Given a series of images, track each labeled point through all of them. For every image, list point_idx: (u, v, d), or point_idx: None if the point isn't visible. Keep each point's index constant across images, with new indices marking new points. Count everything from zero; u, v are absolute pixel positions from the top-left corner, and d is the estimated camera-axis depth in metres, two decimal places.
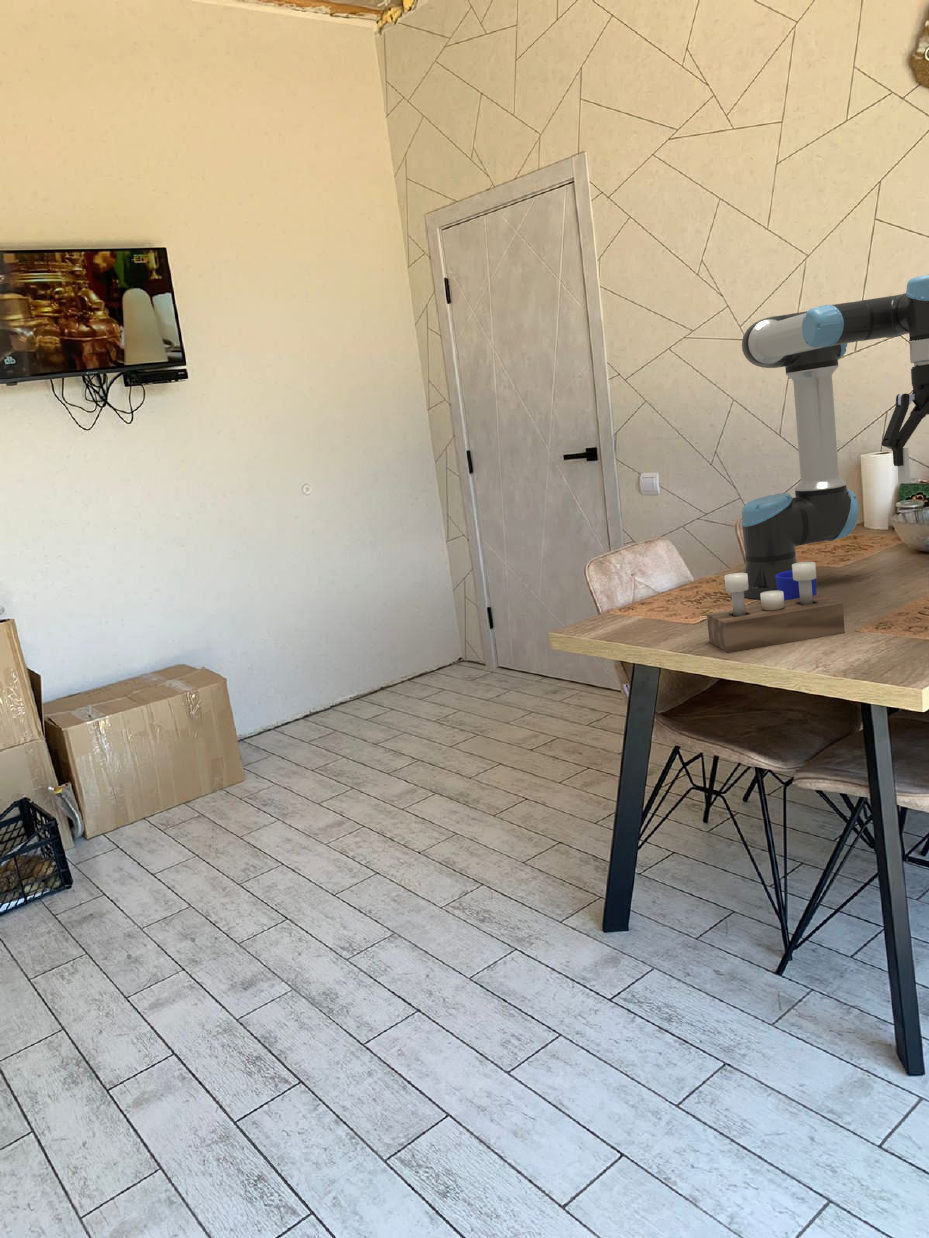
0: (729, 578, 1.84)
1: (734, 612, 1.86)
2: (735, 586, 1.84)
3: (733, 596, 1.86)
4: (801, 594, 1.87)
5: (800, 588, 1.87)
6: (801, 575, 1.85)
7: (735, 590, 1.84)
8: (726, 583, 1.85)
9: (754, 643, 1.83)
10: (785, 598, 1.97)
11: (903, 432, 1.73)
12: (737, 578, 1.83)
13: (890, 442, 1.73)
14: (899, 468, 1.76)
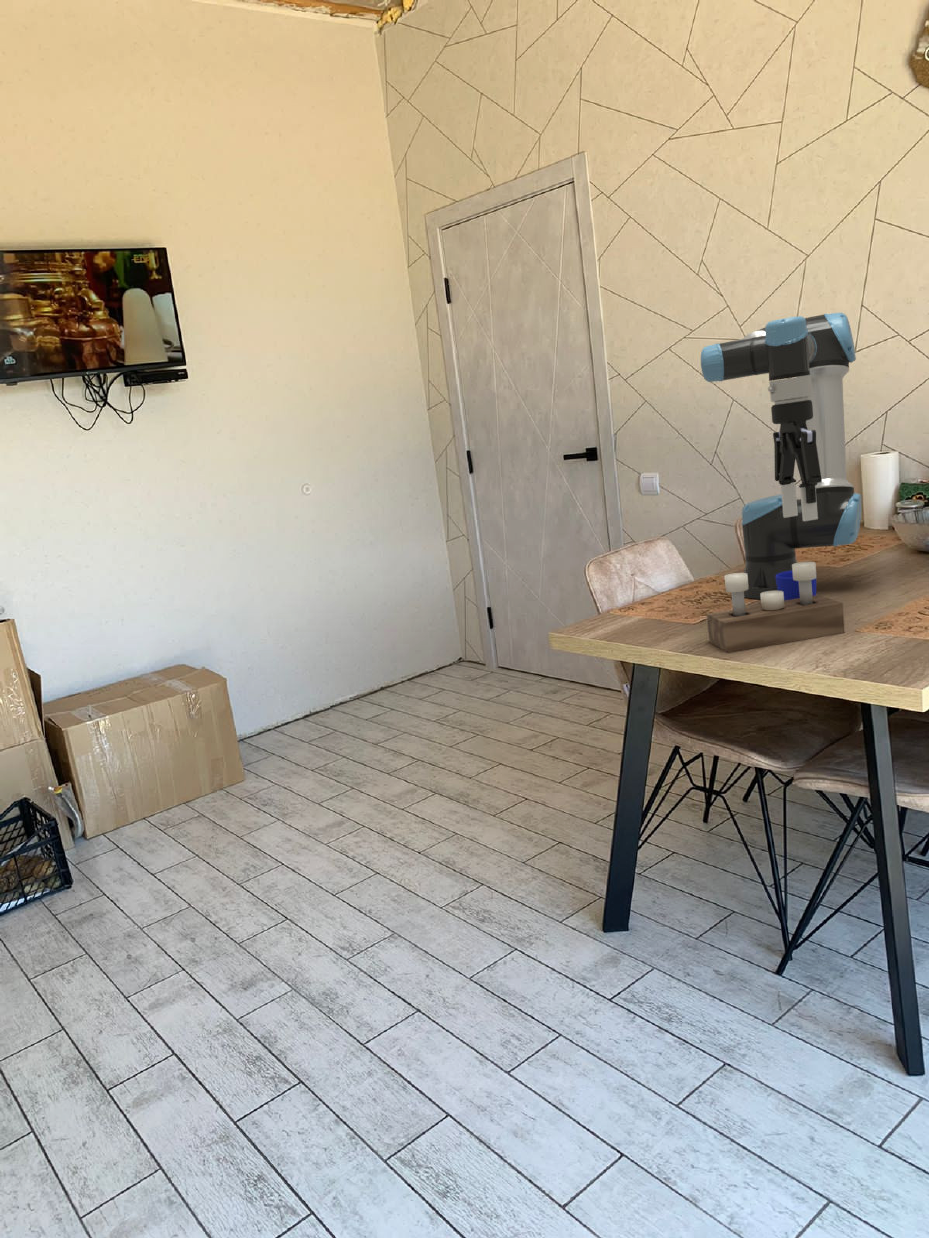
0: (729, 578, 1.84)
1: (734, 612, 1.86)
2: (735, 586, 1.84)
3: (733, 596, 1.86)
4: (801, 594, 1.87)
5: (800, 588, 1.87)
6: (801, 575, 1.85)
7: (735, 590, 1.84)
8: (726, 583, 1.85)
9: (754, 643, 1.83)
10: (785, 598, 1.97)
11: None
12: (737, 578, 1.83)
13: (775, 477, 1.90)
14: None
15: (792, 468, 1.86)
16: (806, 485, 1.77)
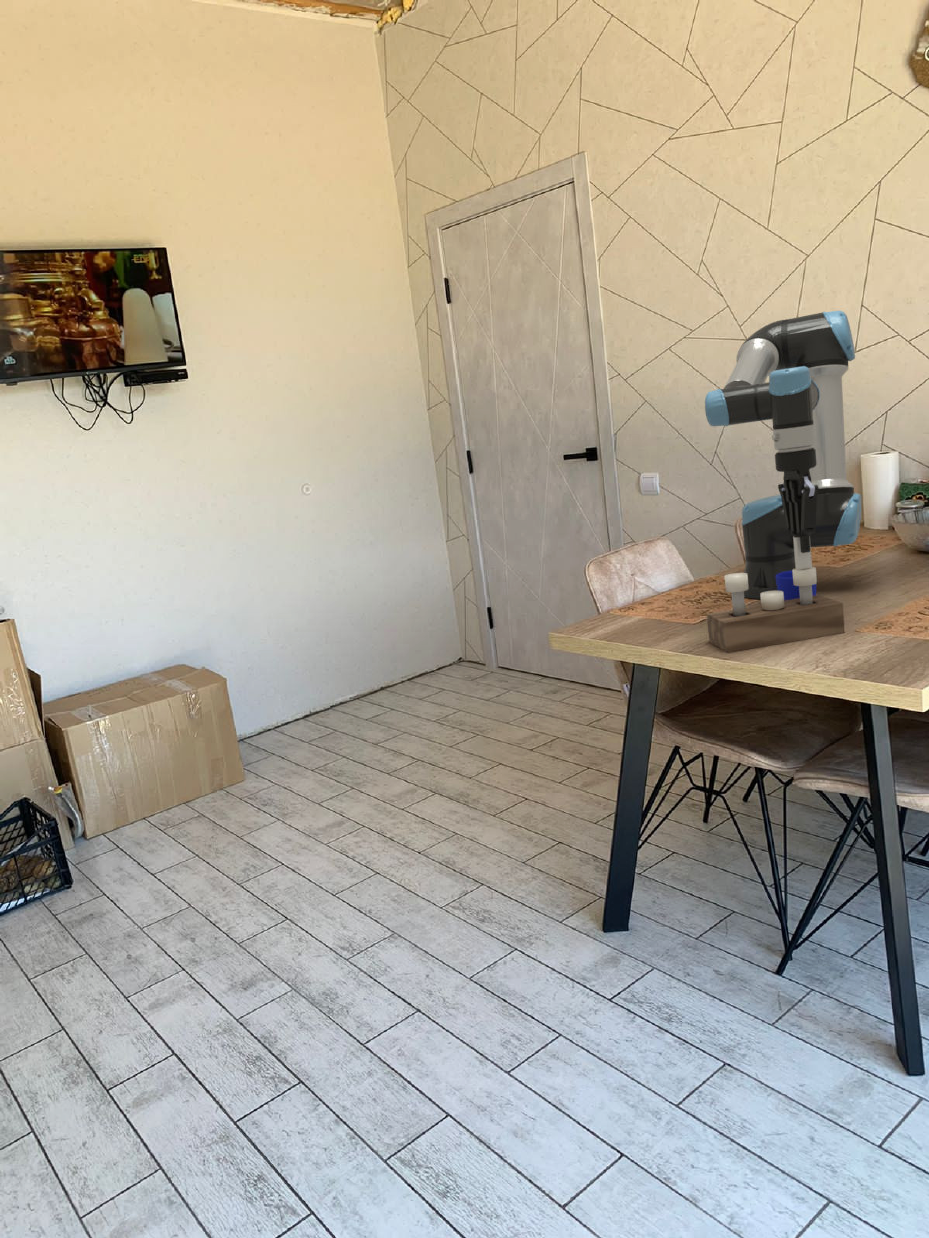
0: (729, 578, 1.84)
1: (734, 612, 1.86)
2: (735, 586, 1.84)
3: (733, 596, 1.86)
4: (801, 599, 1.87)
5: (800, 593, 1.87)
6: (802, 580, 1.85)
7: (735, 590, 1.84)
8: (726, 583, 1.85)
9: (754, 643, 1.83)
10: (785, 598, 1.97)
11: None
12: (737, 578, 1.83)
13: (787, 528, 1.88)
14: None
15: None
16: (800, 536, 1.83)
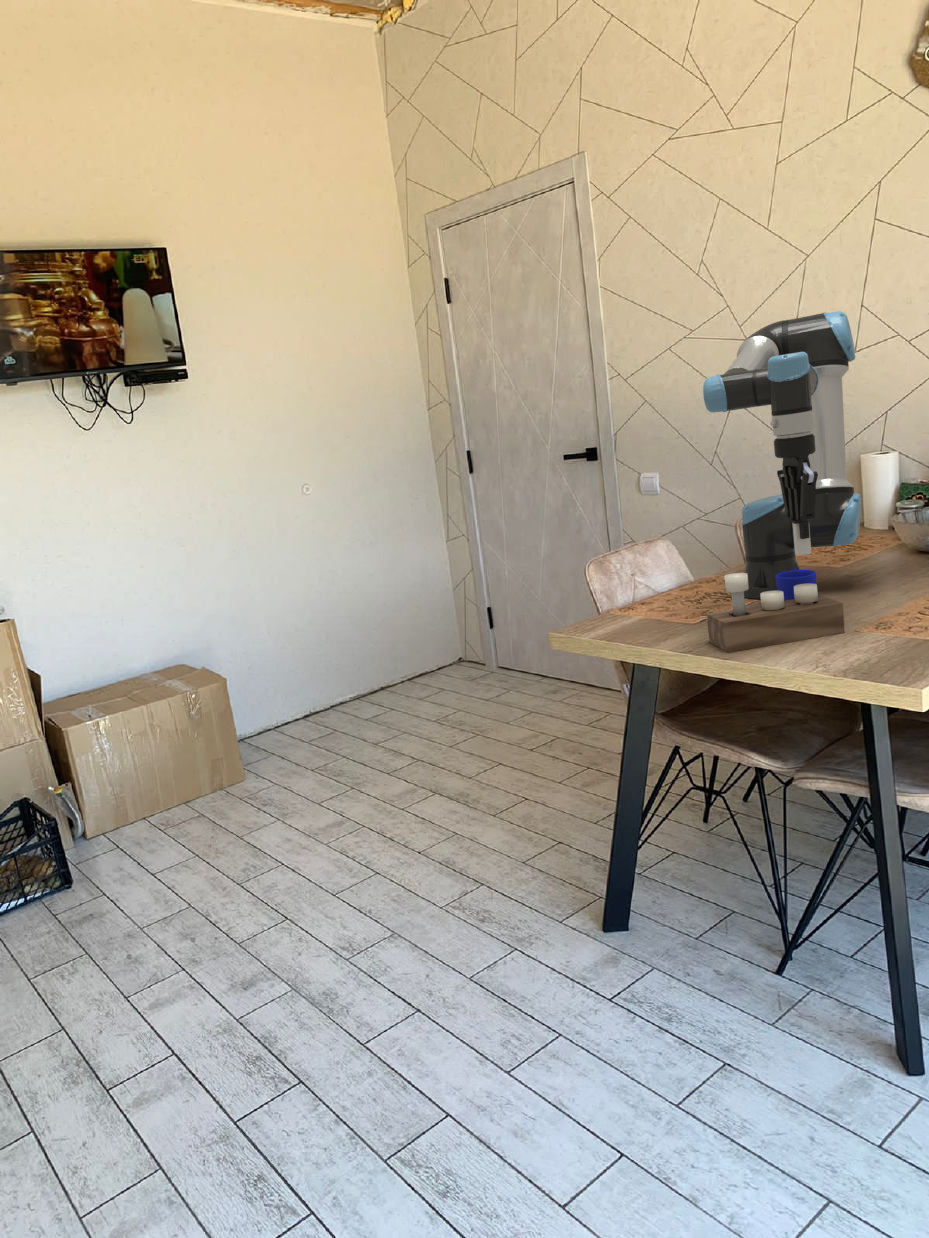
0: (729, 578, 1.84)
1: (734, 612, 1.86)
2: (735, 586, 1.84)
3: (733, 596, 1.86)
4: None
5: None
6: (803, 597, 1.86)
7: (735, 590, 1.84)
8: (726, 583, 1.85)
9: (754, 643, 1.83)
10: (785, 598, 1.97)
11: None
12: (737, 578, 1.83)
13: None
14: None
15: None
16: (799, 522, 1.83)
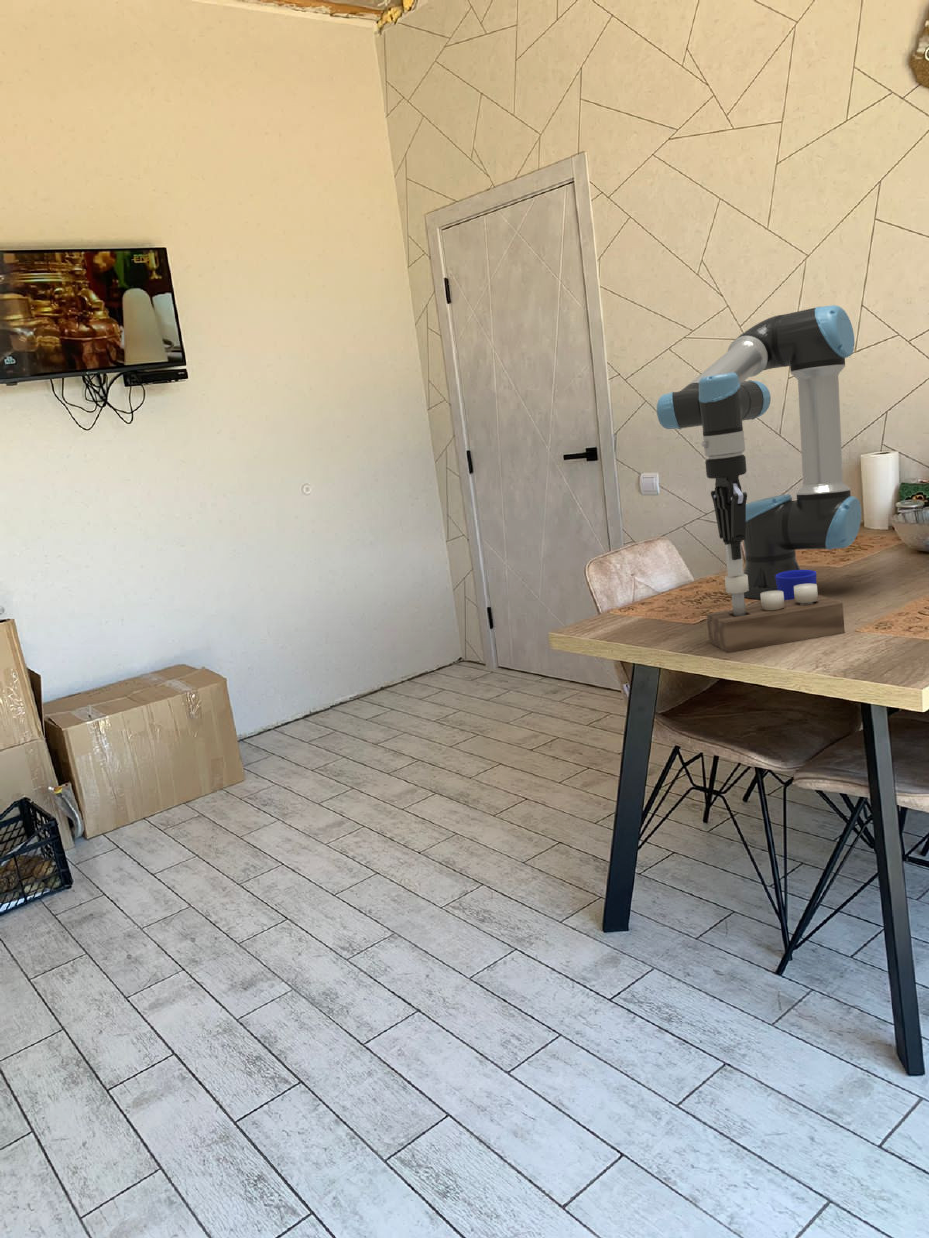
0: (729, 579, 1.84)
1: (734, 613, 1.87)
2: (735, 588, 1.84)
3: (733, 597, 1.86)
4: None
5: None
6: (803, 597, 1.86)
7: (735, 591, 1.84)
8: (726, 584, 1.85)
9: (754, 643, 1.83)
10: (785, 598, 1.97)
11: None
12: (737, 579, 1.83)
13: (719, 535, 1.87)
14: None
15: None
16: (731, 543, 1.82)
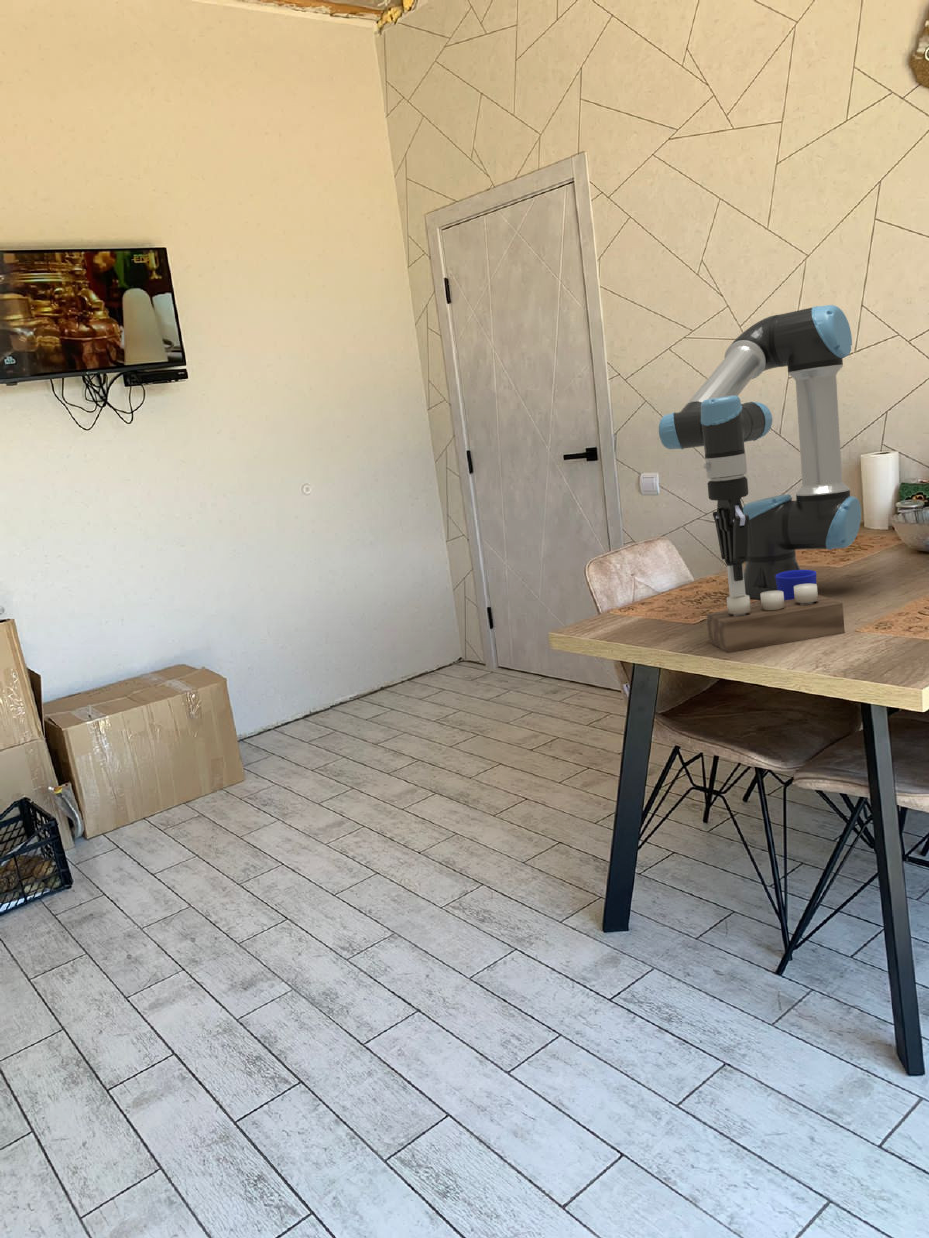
0: (731, 600, 1.85)
1: None
2: (737, 608, 1.85)
3: None
4: None
5: None
6: (803, 597, 1.86)
7: (737, 612, 1.85)
8: (728, 605, 1.86)
9: (754, 643, 1.83)
10: (785, 598, 1.97)
11: None
12: (739, 600, 1.84)
13: (721, 556, 1.88)
14: None
15: None
16: (733, 564, 1.83)
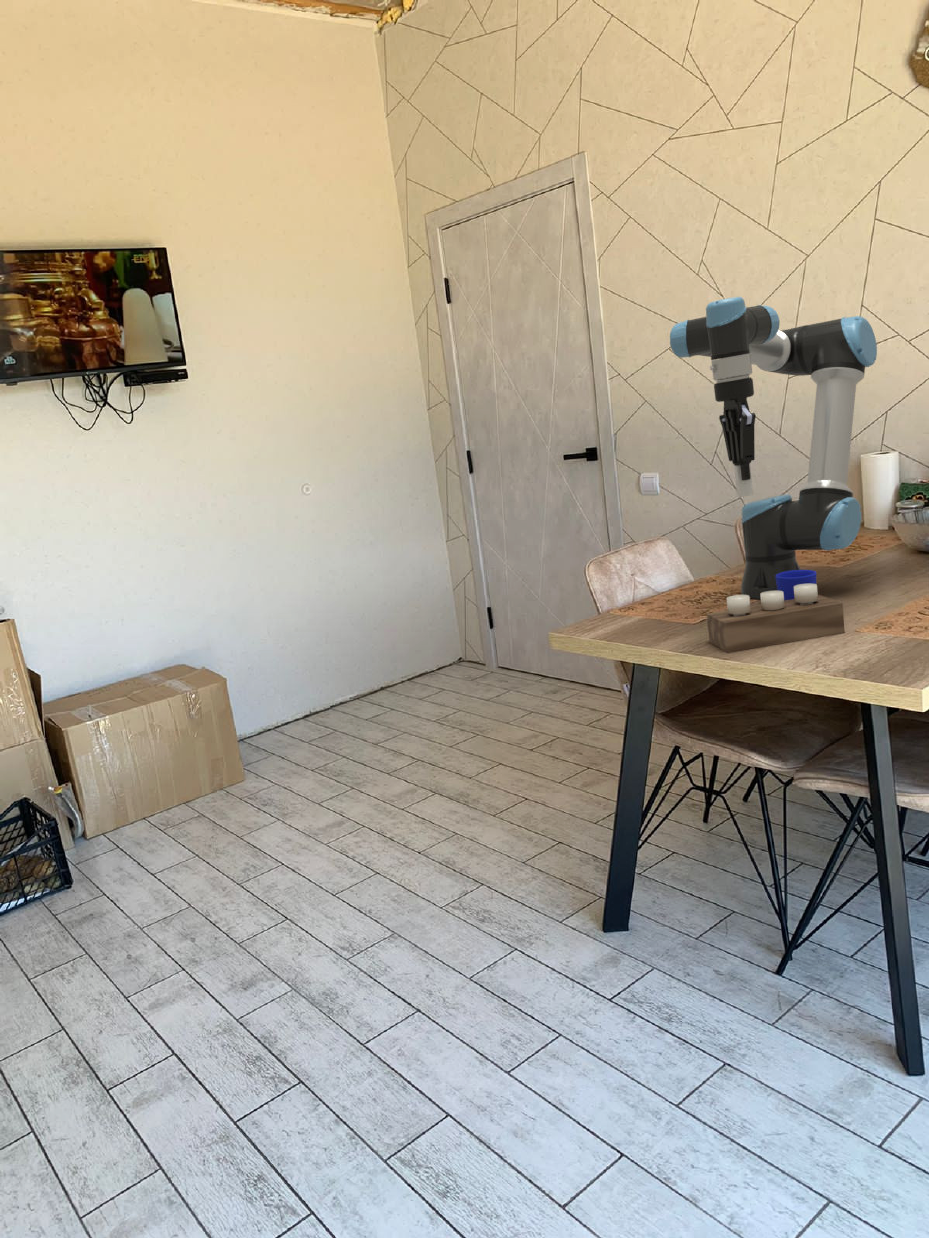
0: (731, 600, 1.85)
1: None
2: (737, 609, 1.85)
3: None
4: None
5: None
6: (803, 597, 1.86)
7: (737, 612, 1.85)
8: (728, 605, 1.86)
9: (754, 643, 1.83)
10: (785, 598, 1.97)
11: None
12: (739, 600, 1.84)
13: None
14: None
15: None
16: (740, 464, 1.89)
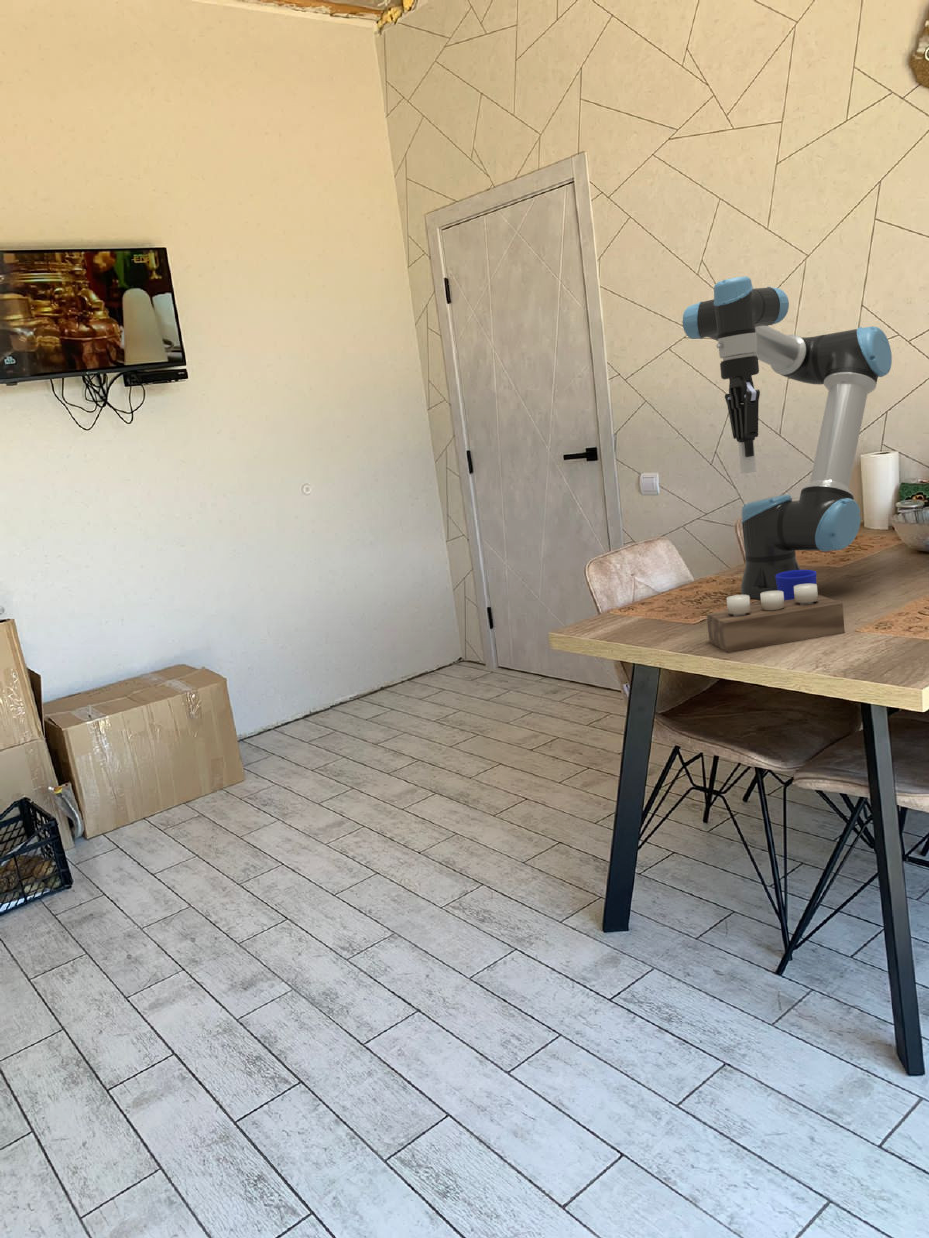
0: (731, 600, 1.85)
1: None
2: (737, 609, 1.85)
3: None
4: None
5: None
6: (803, 597, 1.86)
7: (737, 612, 1.85)
8: (728, 605, 1.86)
9: (754, 643, 1.83)
10: (785, 598, 1.97)
11: None
12: (739, 600, 1.84)
13: (733, 436, 1.98)
14: None
15: None
16: (744, 441, 1.93)
